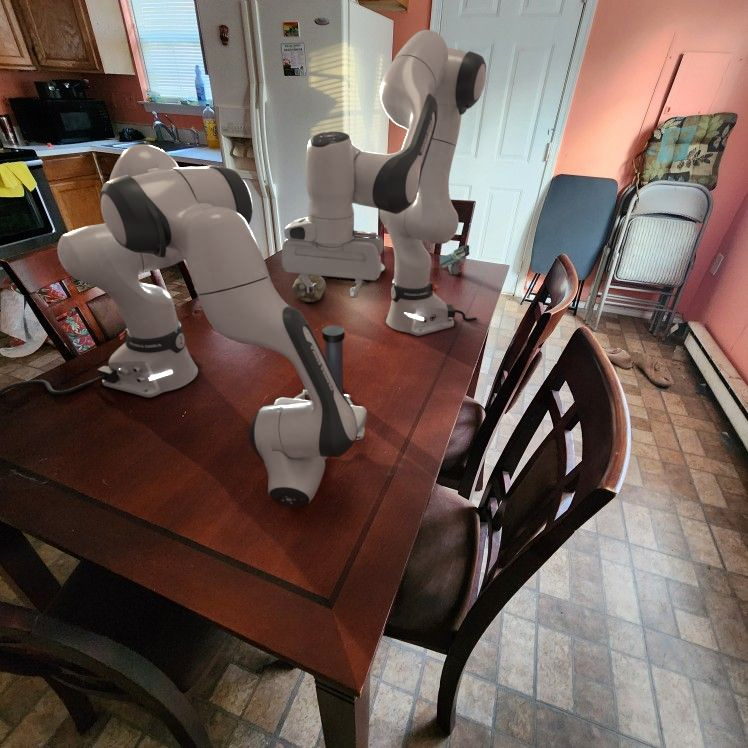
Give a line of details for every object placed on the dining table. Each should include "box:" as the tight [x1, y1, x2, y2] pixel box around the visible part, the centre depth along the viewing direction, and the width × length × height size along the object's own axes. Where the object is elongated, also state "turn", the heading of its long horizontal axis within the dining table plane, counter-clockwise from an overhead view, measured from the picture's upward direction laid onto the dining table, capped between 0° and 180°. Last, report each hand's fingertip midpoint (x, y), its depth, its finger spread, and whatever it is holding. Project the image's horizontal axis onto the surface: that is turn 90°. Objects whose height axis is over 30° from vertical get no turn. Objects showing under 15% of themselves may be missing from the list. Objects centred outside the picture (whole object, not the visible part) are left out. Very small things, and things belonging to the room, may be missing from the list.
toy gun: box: [439, 244, 470, 275], centre depth 171 cm, size 4×19×10 cm
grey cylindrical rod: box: [324, 340, 344, 394], centre depth 98 cm, size 4×4×18 cm
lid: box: [321, 324, 346, 343], centre depth 94 cm, size 5×5×2 cm
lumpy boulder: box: [292, 274, 327, 303], centre depth 148 cm, size 11×11×15 cm
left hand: (327, 394), depth 95 cm, fingers open, 8 cm apart
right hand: (332, 294), depth 88 cm, fingers open, 8 cm apart
